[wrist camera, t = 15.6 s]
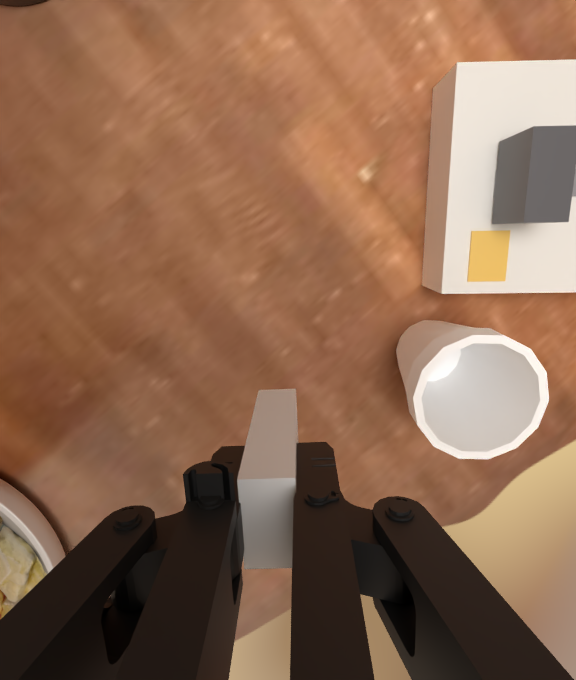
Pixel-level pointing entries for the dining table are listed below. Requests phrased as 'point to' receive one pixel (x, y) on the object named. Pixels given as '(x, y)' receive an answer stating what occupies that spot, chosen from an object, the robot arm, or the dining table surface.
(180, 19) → the dining table surface
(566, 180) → the knob
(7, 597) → the bowl
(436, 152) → the switch panel
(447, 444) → the foam cup
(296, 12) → the dining table surface
